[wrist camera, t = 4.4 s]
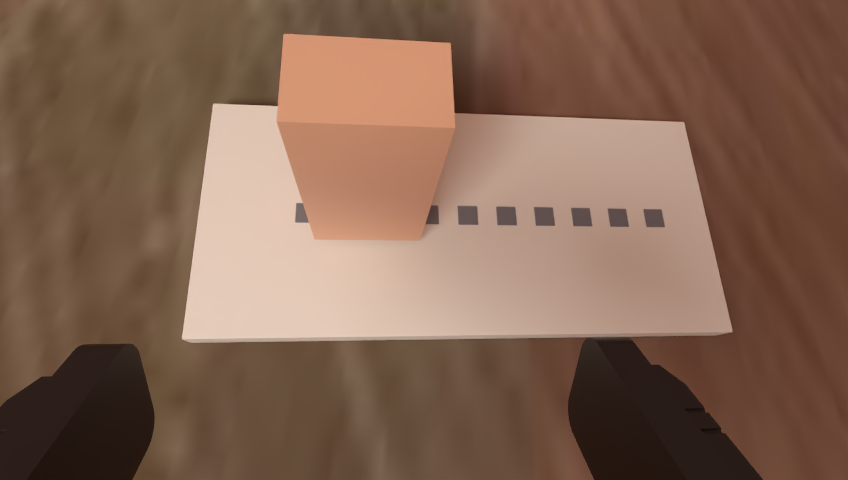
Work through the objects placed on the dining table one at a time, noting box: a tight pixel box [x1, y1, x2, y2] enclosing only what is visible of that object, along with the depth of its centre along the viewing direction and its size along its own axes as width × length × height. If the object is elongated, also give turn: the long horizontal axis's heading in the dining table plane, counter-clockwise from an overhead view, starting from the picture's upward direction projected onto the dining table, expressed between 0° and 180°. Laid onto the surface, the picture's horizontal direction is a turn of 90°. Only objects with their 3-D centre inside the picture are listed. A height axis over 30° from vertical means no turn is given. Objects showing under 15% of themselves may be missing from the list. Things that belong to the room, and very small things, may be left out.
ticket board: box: [182, 104, 733, 343], centre depth 25 cm, size 12×26×1 cm, turn 91°
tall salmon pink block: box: [277, 34, 455, 241], centre depth 19 cm, size 3×5×10 cm, turn 91°
